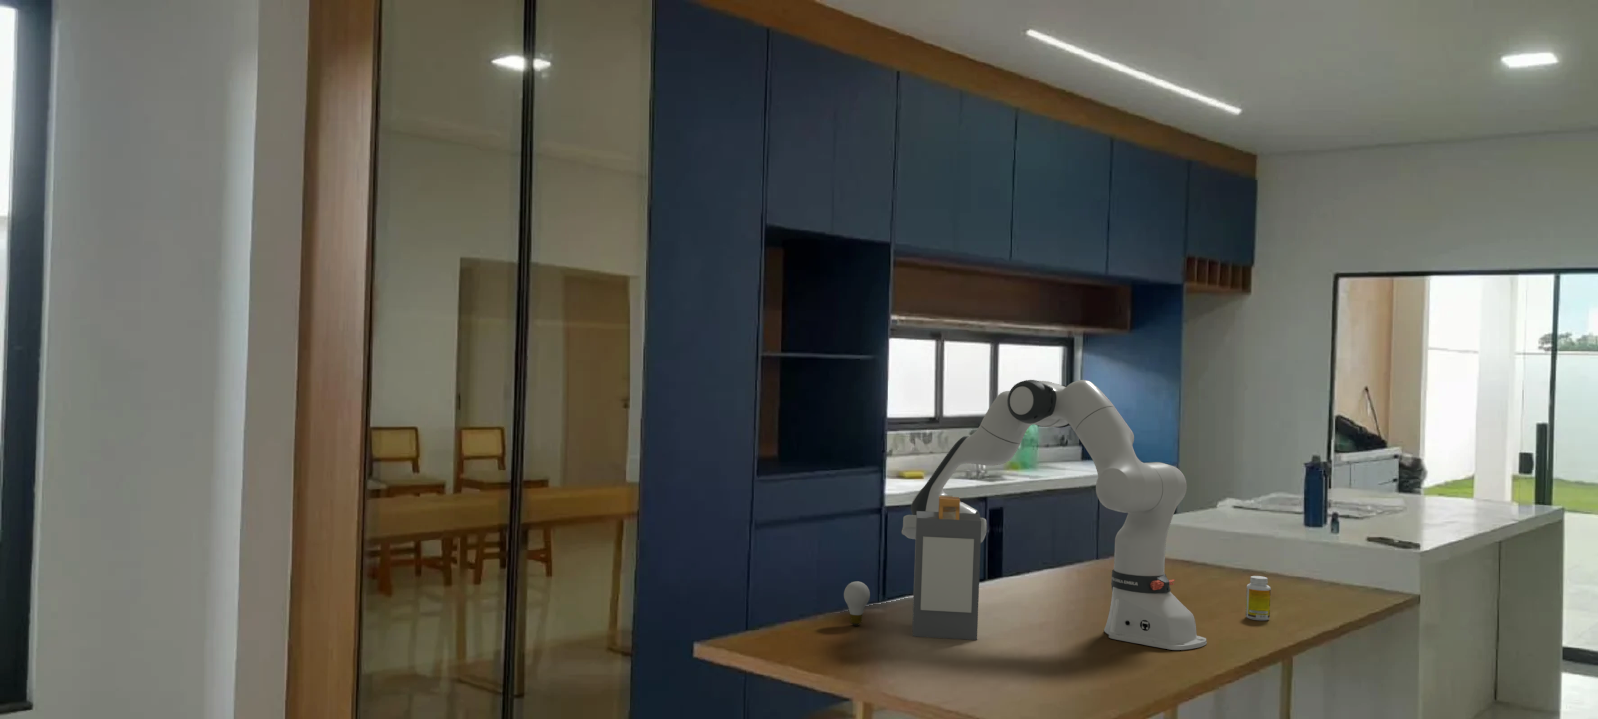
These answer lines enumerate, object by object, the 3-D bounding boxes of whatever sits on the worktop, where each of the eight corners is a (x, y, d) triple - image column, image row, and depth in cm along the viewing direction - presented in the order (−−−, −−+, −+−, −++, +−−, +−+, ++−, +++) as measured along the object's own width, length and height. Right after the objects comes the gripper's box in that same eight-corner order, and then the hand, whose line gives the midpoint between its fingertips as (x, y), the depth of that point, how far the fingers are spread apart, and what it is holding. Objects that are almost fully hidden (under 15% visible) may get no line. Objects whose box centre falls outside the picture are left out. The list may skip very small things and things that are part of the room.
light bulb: (866, 629, 268) (868, 584, 268) (840, 627, 270) (842, 582, 270) (870, 623, 274) (872, 580, 274) (845, 621, 275) (846, 578, 275)
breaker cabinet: (912, 624, 275) (916, 511, 275) (973, 627, 274) (978, 513, 274) (912, 636, 263) (917, 518, 263) (977, 640, 262) (981, 521, 262)
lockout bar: (936, 506, 285) (937, 488, 285) (955, 507, 284) (955, 489, 284) (938, 518, 263) (939, 498, 263) (959, 519, 263) (959, 499, 263)
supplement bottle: (1273, 621, 293) (1275, 579, 293) (1250, 620, 293) (1252, 579, 293) (1263, 616, 299) (1265, 575, 299) (1241, 615, 298) (1243, 574, 298)
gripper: (901, 523, 301) (902, 501, 289) (984, 526, 299) (988, 504, 287) (901, 547, 298) (901, 525, 286) (984, 550, 296) (988, 529, 284)
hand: (945, 514), depth 287 cm, fingers open, 8 cm apart
